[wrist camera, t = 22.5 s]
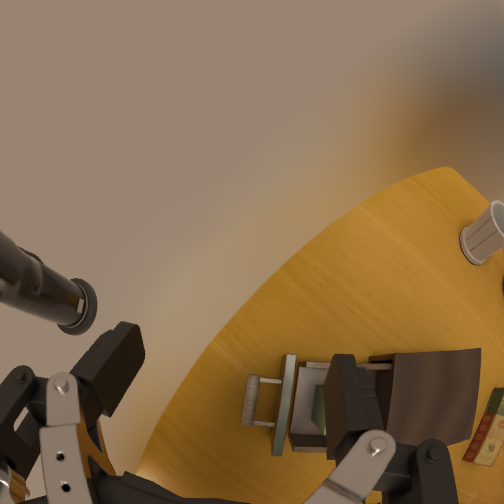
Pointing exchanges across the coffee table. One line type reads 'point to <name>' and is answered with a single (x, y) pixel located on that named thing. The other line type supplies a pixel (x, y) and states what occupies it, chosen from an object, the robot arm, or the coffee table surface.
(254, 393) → the drawer
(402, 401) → the cabinet
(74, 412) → the robot arm
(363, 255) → the coffee table surface
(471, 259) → the cup
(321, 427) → the block
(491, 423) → the carton
